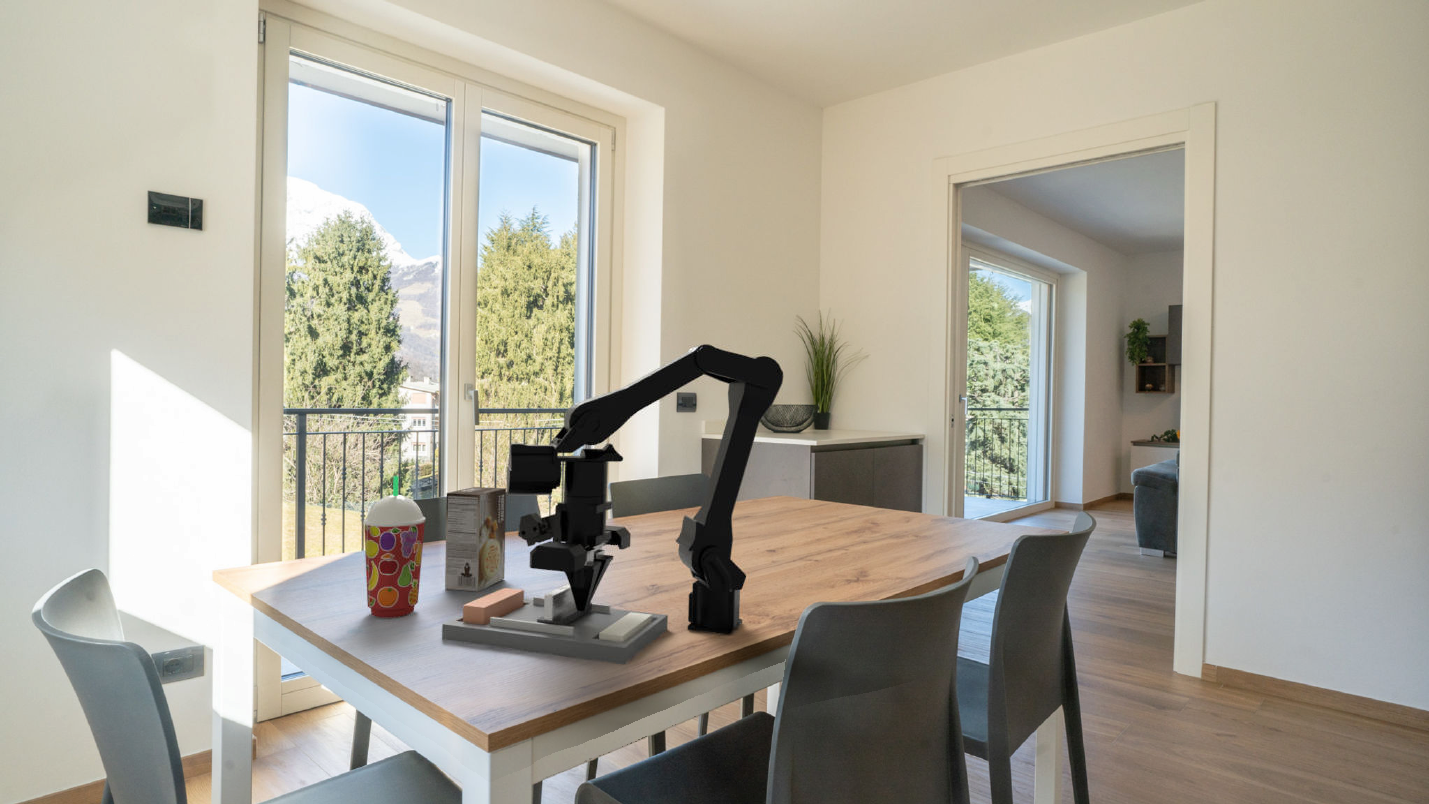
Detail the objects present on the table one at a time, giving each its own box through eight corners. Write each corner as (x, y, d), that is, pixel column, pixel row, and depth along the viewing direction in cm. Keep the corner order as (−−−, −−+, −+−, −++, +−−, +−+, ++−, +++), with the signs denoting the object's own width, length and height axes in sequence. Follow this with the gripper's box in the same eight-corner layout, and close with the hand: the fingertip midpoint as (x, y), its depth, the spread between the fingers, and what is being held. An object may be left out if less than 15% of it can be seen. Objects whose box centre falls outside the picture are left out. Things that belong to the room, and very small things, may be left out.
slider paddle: (591, 609, 107) (592, 580, 107) (557, 629, 98) (558, 597, 98) (572, 607, 108) (573, 578, 108) (536, 627, 99) (537, 594, 99)
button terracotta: (523, 607, 110) (523, 590, 110) (483, 626, 101) (484, 607, 101) (504, 604, 111) (504, 587, 111) (462, 623, 102) (463, 605, 102)
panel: (667, 629, 107) (667, 607, 107) (624, 664, 92) (625, 639, 92) (504, 609, 114) (505, 589, 114) (442, 639, 100) (442, 616, 100)
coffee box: (471, 576, 134) (474, 486, 134) (505, 579, 133) (507, 487, 133) (443, 589, 125) (445, 492, 125) (478, 592, 124) (481, 494, 124)
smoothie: (399, 602, 117) (402, 472, 117) (435, 611, 112) (438, 476, 112) (348, 614, 110) (352, 476, 110) (385, 624, 105) (389, 480, 105)
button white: (651, 632, 105) (651, 614, 105) (622, 655, 95) (622, 635, 95) (630, 630, 106) (630, 612, 106) (598, 652, 96) (599, 632, 96)
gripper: (564, 484, 113) (561, 588, 113) (494, 498, 95) (490, 622, 95) (633, 488, 110) (630, 596, 110) (574, 504, 92) (570, 633, 92)
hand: (581, 610), depth 102 cm, fingers closed
